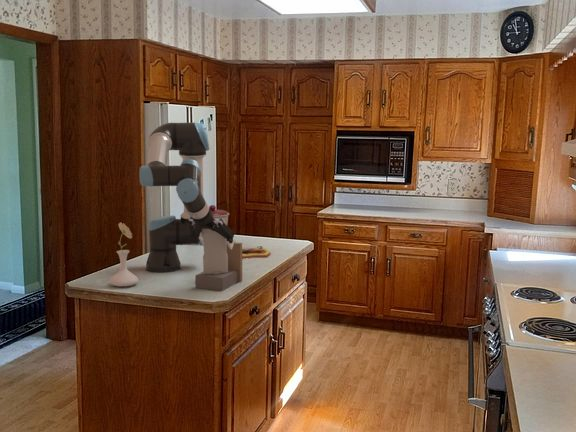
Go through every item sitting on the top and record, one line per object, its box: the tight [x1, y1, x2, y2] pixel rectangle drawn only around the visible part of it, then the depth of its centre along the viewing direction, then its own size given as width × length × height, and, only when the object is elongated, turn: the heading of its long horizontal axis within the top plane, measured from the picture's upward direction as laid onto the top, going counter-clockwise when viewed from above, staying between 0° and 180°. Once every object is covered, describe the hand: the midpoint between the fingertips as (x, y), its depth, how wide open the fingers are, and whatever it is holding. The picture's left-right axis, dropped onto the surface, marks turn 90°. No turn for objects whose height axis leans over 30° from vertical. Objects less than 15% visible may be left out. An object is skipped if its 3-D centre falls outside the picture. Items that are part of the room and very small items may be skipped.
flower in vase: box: [108, 222, 139, 287], centre depth 238 cm, size 13×11×25 cm
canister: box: [209, 204, 230, 226], centre depth 325 cm, size 18×18×21 cm
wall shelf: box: [195, 241, 243, 291], centre depth 240 cm, size 14×16×16 cm
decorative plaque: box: [233, 240, 271, 260], centre depth 298 cm, size 30×7×20 cm
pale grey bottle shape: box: [201, 219, 228, 274], centre depth 237 cm, size 11×4×22 cm, turn 107°
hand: (218, 245), depth 240 cm, fingers open, 11 cm apart
